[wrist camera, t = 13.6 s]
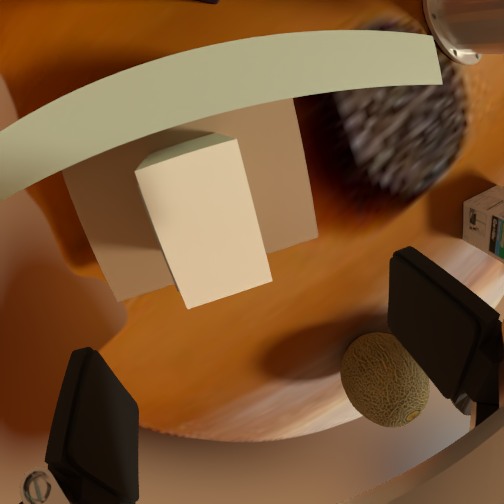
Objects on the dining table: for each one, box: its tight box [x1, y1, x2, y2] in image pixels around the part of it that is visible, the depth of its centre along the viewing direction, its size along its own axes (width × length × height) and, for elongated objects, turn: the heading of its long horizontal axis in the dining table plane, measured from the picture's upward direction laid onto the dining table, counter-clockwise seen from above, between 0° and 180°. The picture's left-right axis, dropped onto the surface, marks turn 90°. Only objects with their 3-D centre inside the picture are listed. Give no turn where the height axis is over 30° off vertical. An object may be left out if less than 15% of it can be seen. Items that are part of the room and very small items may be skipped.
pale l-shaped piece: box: [0, 30, 442, 302], centre depth 19 cm, size 20×14×20 cm
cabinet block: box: [134, 133, 272, 309], centre depth 19 cm, size 5×8×8 cm, turn 14°
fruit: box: [340, 332, 429, 427], centre depth 36 cm, size 11×11×15 cm
